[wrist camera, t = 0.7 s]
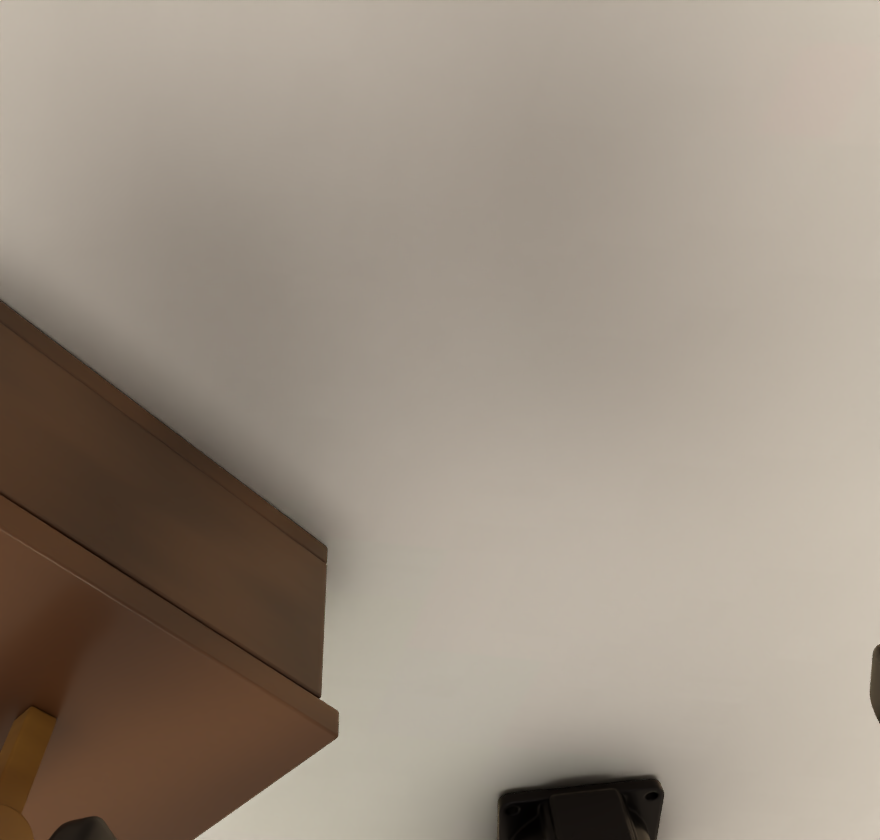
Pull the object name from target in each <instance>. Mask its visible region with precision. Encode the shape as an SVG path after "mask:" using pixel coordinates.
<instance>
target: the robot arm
mask: <svg viewBox="0 0 880 840" xmlns="http://www.w3.org/2000/svg"><path fill="white" fill-rule="evenodd" d="M870 699H871V704H872V707H873V710H874V713H875V715H876V717H877V719H878V721H879V723H880V644H879V645H877V646H876V648H875V649H874V651H873V658H872V670H871V682H870ZM663 799H664V792H663V789H662V786H661V783H660V782H659V781H658V780H655V779H646V780H636V781H627V782H617V783H607V784H597V785H588V786H578V787H568V788H559V789H549V790H539V791H529V792H520V793H510V794H506V795H504V796H502V797H501V798H500V799H499V800H498V834H497V840H656V839H657V833H658V828H659V822H660V816H661V810H662V804H663ZM48 840H117V839H116V837H115V836H114V834H113V833H112V831H111V830H110V829H109V827H108V826H107V824H106V823H105V821H104V820H103V819H102V818H100V817H97V816H90V817H86V818H81V819H76V820H72V821H68V822H66V823H64V824H62V825H61V826H60V827H59V828H57V829H56V831H55V832H54V833H53V834H52V836H51V837H50V838H49V839H48Z"/></svg>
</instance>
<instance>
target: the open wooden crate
mask: <svg viewBox="0 0 880 840" xmlns="http://www.w3.org/2000/svg"><path fill="white" fill-rule="evenodd" d="M0 495H2V496H3V497H5V498H6V499H8V500H10V501H11V502H13V503H14V504H16V505H17V506H19V507H20V508H22V509H24V510H25V511H27V512H28V513H30V514H31V515H33V516H35V517H36V518H38V519H39V520H41V521H42V522H44V523H45V524H47V525H49V526H50V527H52V528H53V529H55V530H56V531H58V532H59V533H61V534H63V535H64V536H66V537H67V538H69V539H70V540H72V541H74V542H75V543H77V544H78V545H80V546H81V547H83V548H84V549H86V550H88V551H89V552H91V553H92V554H94V555H95V556H97V557H99V558H100V559H102V560H103V561H105V562H106V563H108V564H109V565H111V566H113V567H114V568H116V569H117V570H119V571H120V572H122V573H124V574H125V575H127V576H128V577H130V578H131V579H133V580H134V581H136V582H138V583H139V584H141V585H142V586H144V587H145V588H147V589H148V590H150V591H152V592H153V593H155V594H156V595H158V596H159V597H161V598H163V599H164V600H166V601H167V602H169V603H170V604H172V605H173V606H175V607H177V608H178V609H180V610H181V611H183V612H184V613H186V614H188V615H189V616H191V617H192V618H194V619H195V620H197V621H198V622H200V623H202V624H203V625H205V626H206V627H208V628H209V629H211V630H212V631H214V632H216V633H217V634H219V635H220V636H222V637H223V638H225V639H227V640H228V641H230V642H231V643H233V644H234V645H236V646H237V647H239V648H241V649H242V650H244V651H245V652H247V653H248V654H250V655H252V656H253V657H255V658H256V659H258V660H259V661H261V662H262V663H264V664H266V665H267V666H269V667H270V668H272V669H273V670H275V671H277V672H278V673H280V674H281V675H283V676H284V677H286V678H287V679H289V680H291V681H292V682H294V683H295V684H297V685H298V686H300V687H301V688H303V689H305V690H306V691H308V692H309V693H311V694H312V695H314V696H316V697H317V698H320V697H321V692H322V668H323V644H324V621H325V597H326V573H327V565H326V563H327V547H326V546H325V545H323V544H322V543H321V542H319V541H318V540H317V539H315V538H314V537H313V536H311V535H310V534H309V533H307V532H306V531H305V530H303V529H302V528H301V527H300V526H298V525H297V524H296V523H294V522H293V521H292V520H290V519H289V518H288V517H286V516H285V515H284V514H282V513H281V512H280V511H278V510H277V509H276V508H274V507H273V506H272V505H270V504H269V503H268V502H266V501H265V500H264V499H262V498H261V497H260V496H258V495H257V494H256V493H254V492H253V491H252V490H250V489H249V488H248V487H246V486H245V485H244V484H243V483H241V482H240V481H239V480H237V479H236V478H235V477H233V476H232V475H231V474H229V473H228V472H227V471H225V470H224V469H223V468H221V467H220V466H219V465H217V464H216V463H215V462H213V461H212V460H211V459H209V458H208V457H207V456H205V455H204V454H203V453H201V452H200V451H199V450H197V449H196V448H195V447H193V446H192V445H191V444H189V443H188V442H187V441H186V440H184V439H183V438H182V437H180V436H179V435H178V434H176V433H175V432H174V431H172V430H171V429H170V428H168V427H167V426H166V425H164V424H163V423H162V422H160V421H159V420H158V419H156V418H155V417H154V416H152V415H151V414H150V413H148V412H147V411H146V410H144V409H143V408H142V407H140V406H139V405H138V404H136V403H135V402H134V401H132V400H131V399H130V398H129V397H127V396H126V395H125V394H123V393H122V392H121V391H119V390H118V389H117V388H115V387H114V386H113V385H111V384H110V383H109V382H107V381H106V380H105V379H103V378H102V377H101V376H99V375H98V374H97V373H95V372H94V371H93V370H91V369H90V368H89V367H87V366H86V365H85V364H83V363H82V362H81V361H79V360H78V359H77V358H75V357H74V356H73V355H72V354H70V353H69V352H68V351H66V350H65V349H64V348H62V347H61V346H60V345H58V344H57V343H56V342H54V341H53V340H52V339H50V338H49V337H48V336H46V335H45V334H44V333H42V332H41V331H40V330H38V329H37V328H36V327H34V326H33V325H32V324H30V323H29V322H28V321H26V320H25V319H24V318H22V317H21V316H20V315H18V314H17V313H16V312H15V311H13V310H12V309H11V308H9V307H8V306H7V305H5V304H4V303H3V302H1V301H0Z"/></svg>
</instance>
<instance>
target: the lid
mask: <svg viewBox="0 0 880 840" xmlns="http://www.w3.org/2000/svg"><path fill="white" fill-rule="evenodd" d="M338 729H339V712H338V711H337V710H336V709H334V708H333V707H331V706H330V705H328V704H326V703H325V702H323V701H322V700H320V699H319V698H317V697H316V696H314V695H312V694H311V693H309V692H308V691H306V690H305V689H303V688H301V687H300V686H298V685H297V684H295V683H294V682H292V681H291V680H289V679H287V678H286V677H284V676H283V675H281V674H280V673H278V672H277V671H275V670H273V669H272V668H270V667H269V666H267V665H266V664H264V663H262V662H261V661H259V660H258V659H256V658H255V657H253V656H252V655H250V654H248V653H247V652H245V651H244V650H242V649H241V648H239V647H237V646H236V645H234V644H233V643H231V642H230V641H228V640H227V639H225V638H223V637H222V636H220V635H219V634H217V633H216V632H214V631H212V630H211V629H209V628H208V627H206V626H205V625H203V624H202V623H200V622H198V621H197V620H195V619H194V618H192V617H191V616H189V615H188V614H186V613H184V612H183V611H181V610H180V609H178V608H177V607H175V606H173V605H172V604H170V603H169V602H167V601H166V600H164V599H163V598H161V597H159V596H158V595H156V594H155V593H153V592H152V591H150V590H148V589H147V588H145V587H144V586H142V585H141V584H139V583H138V582H136V581H134V580H133V579H131V578H130V577H128V576H127V575H125V574H124V573H122V572H120V571H119V570H117V569H116V568H114V567H113V566H111V565H109V564H108V563H106V562H105V561H103V560H102V559H100V558H99V557H97V556H95V555H94V554H92V553H91V552H89V551H88V550H86V549H84V548H83V547H81V546H80V545H78V544H77V543H75V542H74V541H72V540H70V539H69V538H67V537H66V536H64V535H63V534H61V533H59V532H58V531H56V530H55V529H53V528H52V527H50V526H49V525H47V524H45V523H44V522H42V521H41V520H39V519H38V518H36V517H35V516H33V515H31V514H30V513H28V512H27V511H25V510H24V509H22V508H20V507H19V506H17V505H16V504H14V503H13V502H11V501H10V500H8V499H6V498H5V497H3V496H2V495H0V840H48V839H49V838H50V837H51V836H52V834H53V833H54V832H55V831H56V829H57V828H59V827H60V826H61V825H62V824H64V823H66V822H68V821H72V820H76V819H81V818H86V817H90V816H97V817H100V818H102V819H103V820H104V821H105V823H106V824H107V826H108V827H109V829H110V830H111V831H112V833H113V834H114V836H115V837H116V839H117V840H194V839H195V838H196V837H198V836H199V835H201V834H202V833H203V832H205V831H206V830H208V829H209V828H211V827H212V826H213V825H215V824H216V823H218V822H219V821H220V820H222V819H223V818H225V817H226V816H227V815H229V814H230V813H232V812H233V811H235V810H236V809H237V808H239V807H240V806H242V805H243V804H244V803H246V802H247V801H249V800H250V799H251V798H253V797H254V796H256V795H257V794H259V793H260V792H261V791H263V790H264V789H266V788H267V787H268V786H270V785H271V784H273V783H274V782H276V781H277V780H278V779H280V778H281V777H283V776H284V775H285V774H287V773H288V772H290V771H291V770H292V769H294V768H295V767H297V766H298V765H300V764H301V763H302V762H304V761H305V760H307V759H308V758H309V757H311V756H312V755H314V754H315V753H316V752H318V751H319V750H321V749H322V748H324V747H325V746H326V745H328V744H329V743H331V742H332V741H333V740H335V739H336V738H337V737H338Z"/></svg>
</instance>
